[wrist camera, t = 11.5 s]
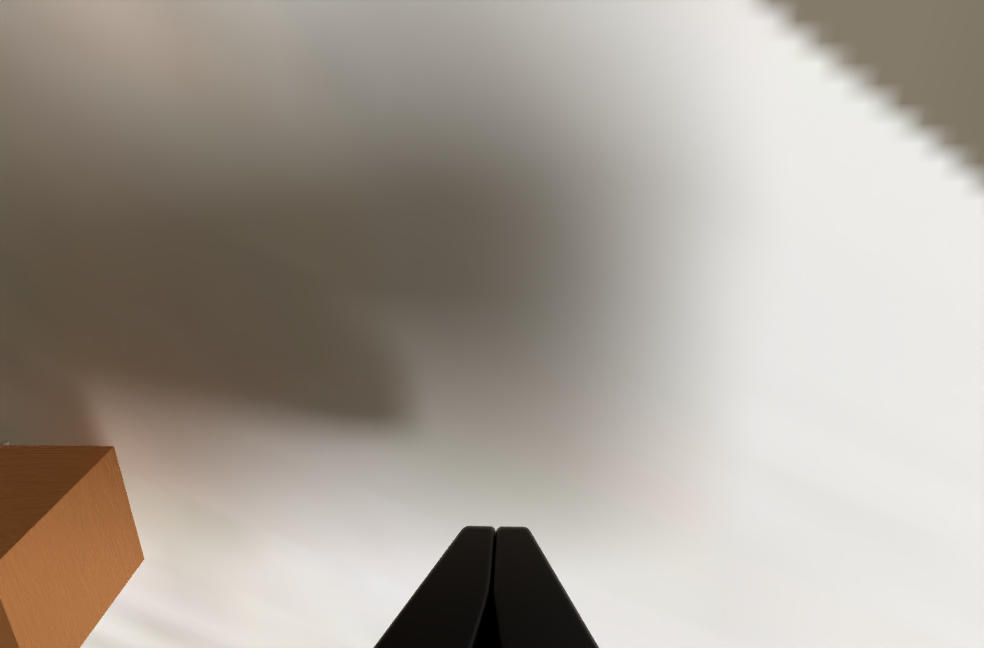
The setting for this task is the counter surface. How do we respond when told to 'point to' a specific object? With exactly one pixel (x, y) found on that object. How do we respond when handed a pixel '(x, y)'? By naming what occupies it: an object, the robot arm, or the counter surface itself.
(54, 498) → the lock pin
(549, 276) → the counter surface
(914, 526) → the counter surface
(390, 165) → the counter surface
